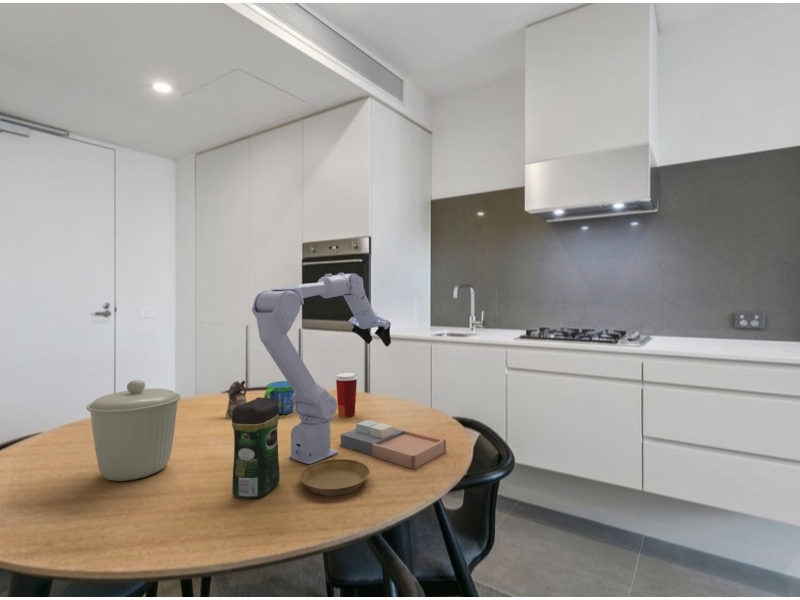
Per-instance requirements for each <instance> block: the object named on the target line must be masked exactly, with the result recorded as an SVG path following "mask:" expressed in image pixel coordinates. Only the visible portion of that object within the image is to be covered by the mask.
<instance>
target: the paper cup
mask: <svg viewBox="0 0 800 600" xmlns="http://www.w3.org/2000/svg"><path fill="white" fill-rule="evenodd" d="M358 379H359V378H358V376H357V374H356V373H352V372H343V373H338V374H337V375H336V376H335V378H334V380H335V383H336V384H335V385H336V399H337V400H336V402H337V413H338V417H340V418H346V419H347V418H352V417H354V416H355V414H356V404H357V403H356V402H357V399H356V398H357V383H358Z"/></svg>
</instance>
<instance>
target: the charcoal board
mask: <svg viewBox="0 0 800 600" xmlns="http://www.w3.org/2000/svg"><path fill="white" fill-rule="evenodd" d="M404 431H405V430H403V429H399V428H396V427H393V434H392V435H390V436H388V437H385V438H383V439H382V438H378V437H374V436H371V435H370V434H369V435H367V434H363V433H359V432H356V428H355V429H354V428H353V429H352V430H349V431H346V432H343V433H341V434H340V447H344V448H348V449H351V450H354V451H357V452H361V453H363V454H367V455H370V456H372V444H378V445H379V444H382V443H384V442H386V441H389V440H391V439H393V438H396V437H398V436H401V435H403V434H404Z"/></svg>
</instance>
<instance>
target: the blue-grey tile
mask: <svg viewBox="0 0 800 600" xmlns="http://www.w3.org/2000/svg"><path fill="white" fill-rule="evenodd" d="M379 423H380V422H377V421H374V420H369V419H366V420H363V421H360V422H358V423H355V429H356V432H359V433H363V434H367V435H369V434H370V427H371V426H374V425H377V424H379Z"/></svg>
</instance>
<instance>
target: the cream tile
mask: <svg viewBox="0 0 800 600" xmlns="http://www.w3.org/2000/svg"><path fill="white" fill-rule="evenodd" d="M378 423H379V424H377V425H374V426H371V427H370V435H371V436H374V437H378V438H382V439H383V438H385V437H388V436H390V435H392V434H393V428H394V425H391V424H386V423H382V422H378Z"/></svg>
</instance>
